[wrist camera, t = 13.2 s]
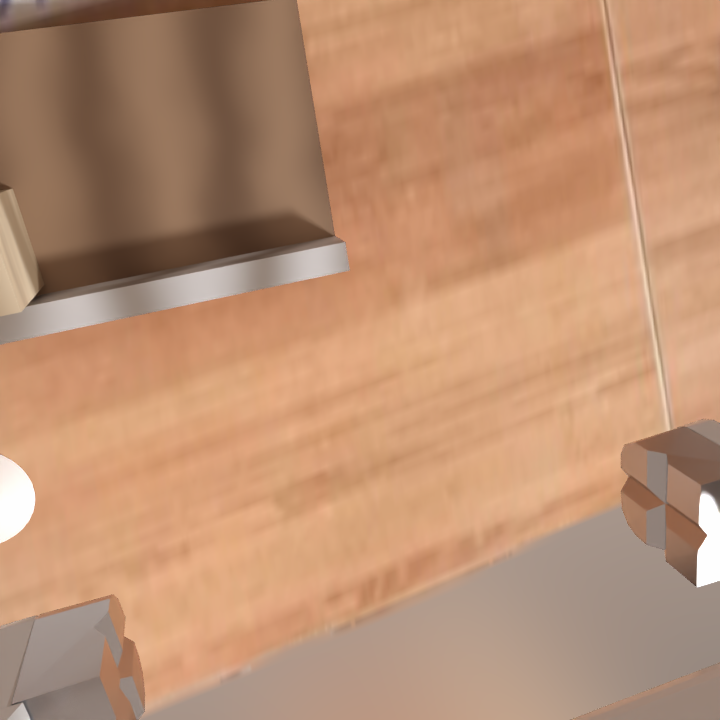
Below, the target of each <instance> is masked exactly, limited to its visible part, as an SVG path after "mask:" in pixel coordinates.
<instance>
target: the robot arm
mask: <svg viewBox="0 0 720 720" xmlns="http://www.w3.org/2000/svg"><path fill="white" fill-rule="evenodd" d="M621 468H622V470H623V471H624V472H625V473H626V474H627V475H628V476H629V477H628V479H627V481H626V483H625V485H624V486H623V488H622V490H621V502H622V510H623V513H624V515H625V518H626V520H627V523H628V525H629V526H630V528H631V529H632V531H633V532H634V534H635V535H636V536H637V537H638V538H639V539H641V540H642V541H643V542H644V543H645V544H646V545H649V546H652V547H656V548H659V549H662V550H665V558H666V562H667V563H669V564H670V565H671V566H672V567H673V568H674V569H676V570H677V571H678V572H679V573H680V574H682V575H683V576H684V577H685V578H686V579H688V580H689V581H690V582H691V583H692V584H694V585H695V586H696V587H699V586H702V585H705V584H708V583H711V582H715V581H718V580H720V423H719V422H717V421H715V420H709V419H701V420H698V421H695V422H692V423H689V424H686V425H683V426H680V427H678V428H677V429H673V430H670V431H667V432H664V433H661V434H657V435H654V436H651V437H648V438H644V439H641V440H638V441H635V442H631V443H628V444H625V445H624V447H623V450H622V453H621ZM124 629H125V615H124V613H123V610H122V607H121V605H120V602H119V600H118V598H117V597H116V596H115V595H109V596H105V597H102V598H98V599H94V600H91V601H87V602H83V603H80V604H76V605H72V606H69V607H65V608H61V609H58V610H54V611H50V612H47V613H43V614H40V615H39V616H32V617H29V618H25V619H22V620H19V621H15V622H12V623H9V624H5V625H2V626H1V627H0V720H139V719H140V717H141V716H142V714H143V713H144V712H145V689H144V679H143V671H142V667H141V663H140V659H139V655H138V652H137V649H136V646H135V643H134V642H133V641H131V640H130V639H128V638H126V637H124ZM571 720H720V663H717V664H715V665H712V666H709V667H707V668H704V669H701V670H699V671H696V672H694V673H691V674H689V675H686V676H683V677H681V678H678V679H675V680H673V681H670V682H667V683H665V684H662V685H659V686H657V687H654V688H651V689H649V690H647V691H644V692H641V693H638V694H636V695H633V696H631V697H628V698H625V699H623V700H620V701H618V702H615V703H612V704H610V705H607V706H605V707H602V708H599V709H597V710H594V711H592V712H589V713H587V714H584V715H581V716H579V717H576V718H573V719H571Z"/></svg>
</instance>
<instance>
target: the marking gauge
mask: <svg viewBox="0 0 720 720" xmlns="http://www.w3.org/2000/svg"><path fill="white" fill-rule="evenodd" d="M44 285H45V284H44V281H43V278H42V275H41V272H40V269H39V266H38V263H37V260H36V257H35V254H34V251H33V248H32V245H31V242H30V239H29V236H28V233H27V230H26V227H25V224H24V221H23V218H22V215H21V212H20V209H19V206H18V203H17V200H16V197H15V194H14V191H13V189H7V190H1V191H0V316H5V315H9V314H14V313H19V312H22V311H23V310H24V308H25V307H26V306H27V305H28V304H29V302H30V301H31V300H32V299H33V298H34V297H35V295H36V294H37V293H38V292H39V291H40V289H41V288H42V287H43V286H44Z"/></svg>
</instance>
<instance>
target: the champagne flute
mask: <svg viewBox="0 0 720 720" xmlns="http://www.w3.org/2000/svg"><path fill="white" fill-rule="evenodd" d="M34 506H35V492H34V488H33V485H32V482H31V481H30V479H29V477H28V475H27V474H26V473H25V472H24V471H23V469H22V468H21V467H20V466H18V465H17V464H16V463H15V462H13V461H12V460H10V459H8V458H6V457H4V456H2V455H0V543H1V542H4V541H6V540H8V539H10V538H11V537H13V536H15V535H16V534H17V533H18V532H19V531H21V530H22V529H23V528H24V527H25V525H26V524H27V523H28V521H29V520H30V518H31V516H32V513H33V511H34Z"/></svg>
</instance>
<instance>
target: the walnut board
mask: <svg viewBox="0 0 720 720" xmlns="http://www.w3.org/2000/svg"><path fill="white" fill-rule="evenodd" d="M7 189H13V191H14V194H15V197H16V200H17V203H18V206H19V209H20V212H21V215H22V218H23V221H24V224H25V227H26V230H27V233H28V236H29V239H30V242H31V245H32V248H33V251H34V254H35V257H36V260H37V263H38V266H39V269H40V272H41V275H42V278H43V281H44V284H45V285H44V286H43V287H42V288H41V289H40V291H39V292H38V293H37V294H36V295H35V297H34V298H33V299H32V300H31V301H30V302H29V304H28V305H27V306H26V307H25V308H24V310H23V311H22V312H19V313H14V314H9V315H5V316H0V344H5V343H10V342H14V341H19V340H24V339H29V338H33V337H38V336H43V335H47V334H52V333H57V332H62V331H66V330H71V329H76V328H80V327H85V326H90V325H95V324H99V323H104V322H109V321H113V320H118V319H123V318H128V317H132V316H137V315H142V314H147V313H151V312H156V311H161V310H165V309H170V308H175V307H180V306H184V305H189V304H194V303H198V302H203V301H208V300H213V299H217V298H222V297H227V296H231V295H236V294H241V293H246V292H250V291H255V290H260V289H264V288H269V287H274V286H279V285H283V284H288V283H293V282H297V281H302V280H307V279H312V278H316V277H321V276H326V275H330V274H335V273H340V272H345V271H349V270H350V269H349V263H348V257H347V250H346V244H345V242H344V241H343V240H341V239H339V238H338V237H336V236H335V233H334V227H333V220H332V214H331V208H330V202H329V196H328V190H327V184H326V177H325V171H324V165H323V159H322V153H321V147H320V141H319V134H318V128H317V122H316V116H315V110H314V104H313V98H312V91H311V85H310V79H309V73H308V67H307V61H306V55H305V48H304V42H303V36H302V30H301V24H300V18H299V11H298V5H297V0H267V1H259V2H251V3H242V4H234V5H226V6H218V7H210V8H201V9H193V10H185V11H177V12H169V13H161V14H152V15H144V16H136V17H128V18H120V19H111V20H103V21H95V22H87V23H79V24H71V25H62V26H54V27H46V28H38V29H30V30H22V31H13V32H5V33H0V191H1V190H7Z"/></svg>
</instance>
